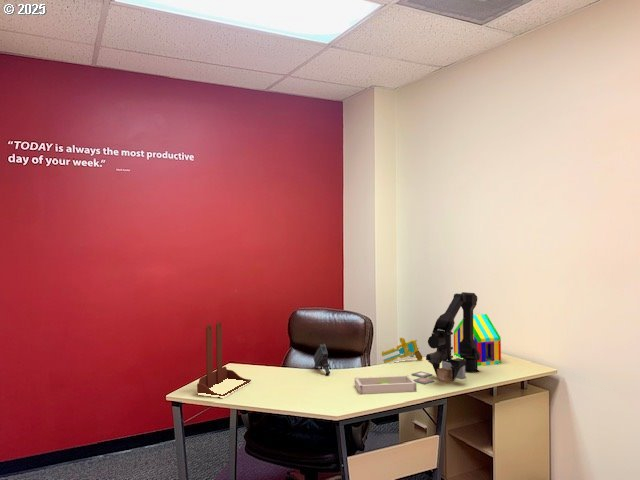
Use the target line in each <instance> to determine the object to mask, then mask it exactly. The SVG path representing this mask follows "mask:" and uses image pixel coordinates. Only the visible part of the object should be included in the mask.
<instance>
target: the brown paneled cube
mask: <svg viewBox="0 0 640 480" xmlns="http://www.w3.org/2000/svg"><path fill="white" fill-rule="evenodd" d="M436 380H437V382H441V383H444V384H450V383H452V382H455V380H453V379H452V369H450V368H446V367H443V368H442V367H440V368H439V369H437V376H436Z"/></svg>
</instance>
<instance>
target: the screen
mask: <svg viewBox="0 0 640 480" xmlns="http://www.w3.org/2000/svg"><path fill="white" fill-rule="evenodd" d="M451 366H452V365H451V363H448V362H443V361H442V362H441V368H443V367H446V368H450V369H452V368H451ZM456 378H457V379H461V380H463V379H466V378H467V376H466V371H465V366H463V367H461V368H460V370H459V372H458V374H457V376H456ZM456 378H455V379H456Z"/></svg>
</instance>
